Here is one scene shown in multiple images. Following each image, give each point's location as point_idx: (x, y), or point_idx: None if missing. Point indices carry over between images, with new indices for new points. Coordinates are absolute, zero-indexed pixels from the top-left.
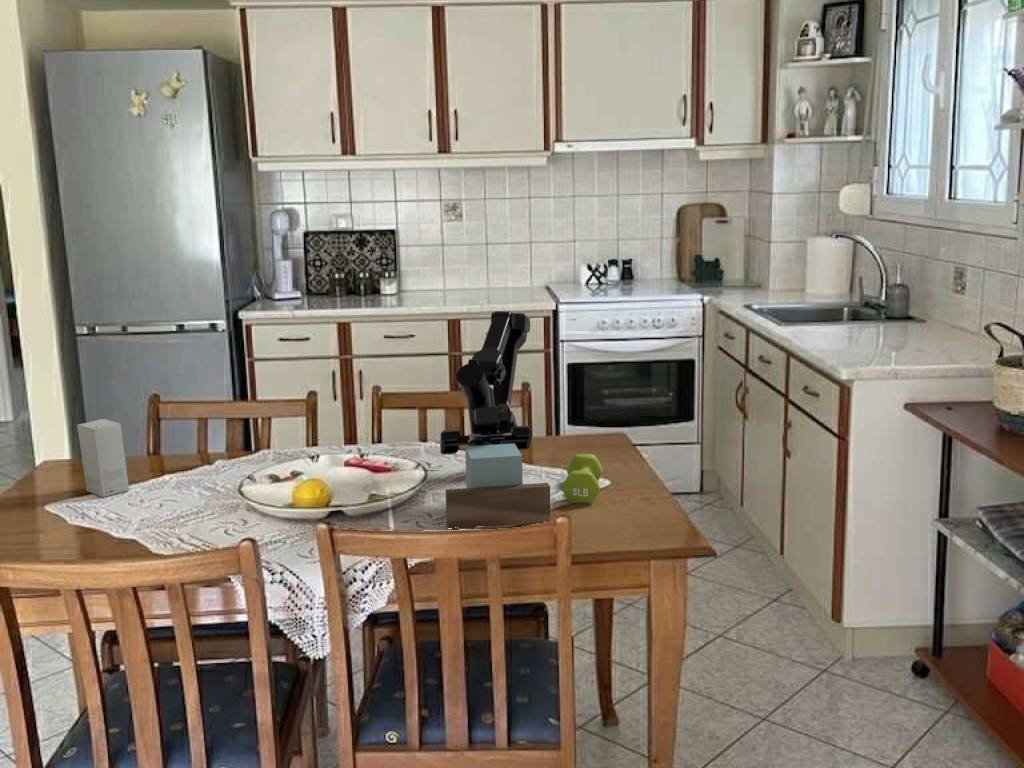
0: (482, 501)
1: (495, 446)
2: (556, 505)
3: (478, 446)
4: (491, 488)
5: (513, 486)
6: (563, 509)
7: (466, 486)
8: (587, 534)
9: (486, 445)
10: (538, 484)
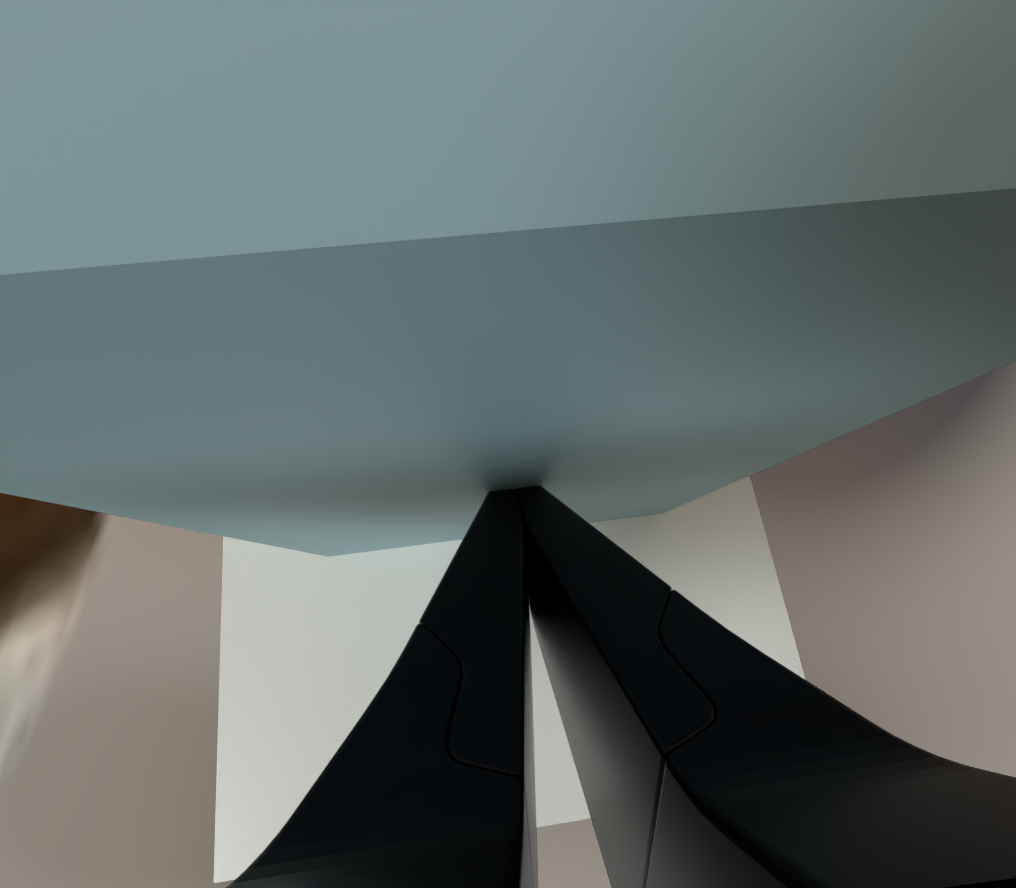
0: None
1: (333, 16)
2: (40, 607)
3: (1002, 101)
4: None
5: None
6: (21, 517)
7: (734, 480)
8: None
9: (705, 182)
10: None
